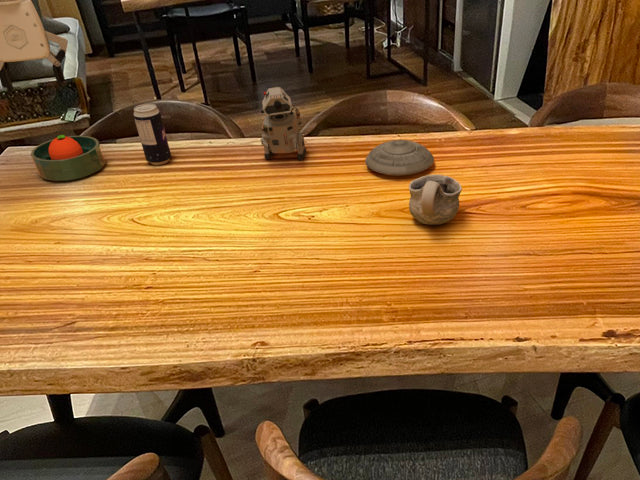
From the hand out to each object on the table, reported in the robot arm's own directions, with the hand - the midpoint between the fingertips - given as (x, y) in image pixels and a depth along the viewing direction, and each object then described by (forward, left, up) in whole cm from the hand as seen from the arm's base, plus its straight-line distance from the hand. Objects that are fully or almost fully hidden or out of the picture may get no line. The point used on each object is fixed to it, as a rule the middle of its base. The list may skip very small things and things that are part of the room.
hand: (36, 88), depth 129 cm
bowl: (+1, 0, -18) cm, 18 cm away
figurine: (+47, -14, -18) cm, 52 cm away
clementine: (+1, 0, -17) cm, 17 cm away
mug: (+67, -54, -18) cm, 88 cm away
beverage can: (+20, -3, -18) cm, 27 cm away
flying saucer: (+70, -27, -18) cm, 77 cm away
